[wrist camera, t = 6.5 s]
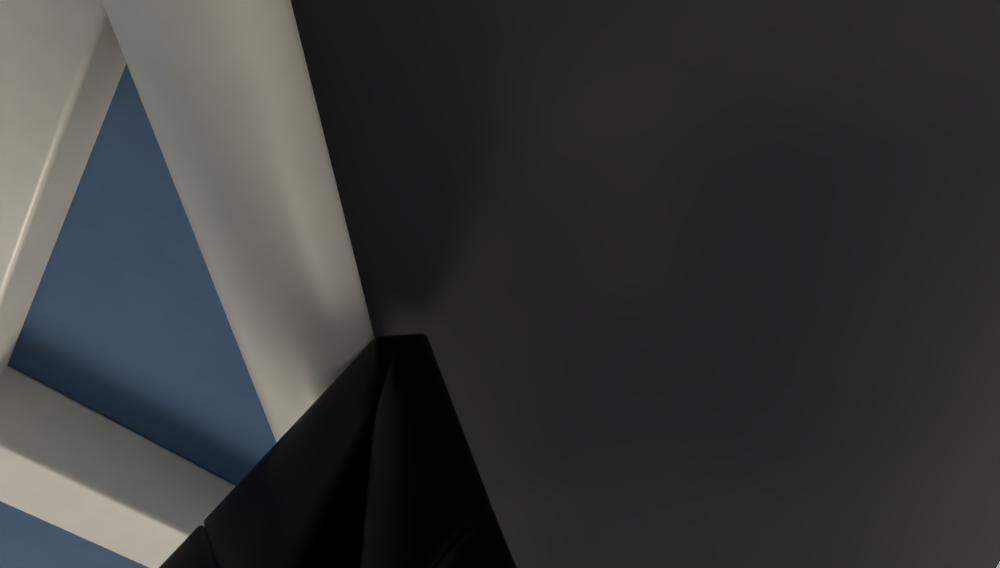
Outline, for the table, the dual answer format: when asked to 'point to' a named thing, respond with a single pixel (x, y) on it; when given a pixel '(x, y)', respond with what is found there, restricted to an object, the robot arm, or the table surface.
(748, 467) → the mat
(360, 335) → the hanger
